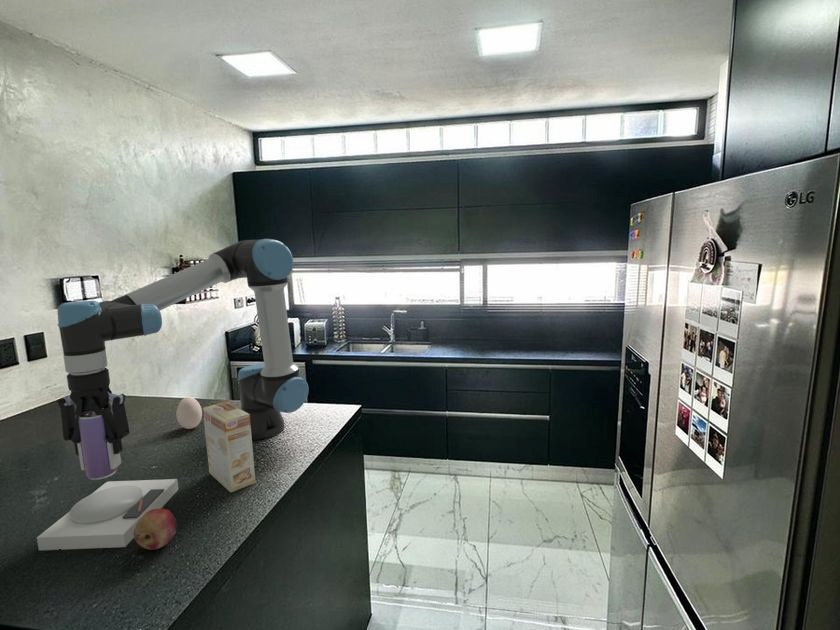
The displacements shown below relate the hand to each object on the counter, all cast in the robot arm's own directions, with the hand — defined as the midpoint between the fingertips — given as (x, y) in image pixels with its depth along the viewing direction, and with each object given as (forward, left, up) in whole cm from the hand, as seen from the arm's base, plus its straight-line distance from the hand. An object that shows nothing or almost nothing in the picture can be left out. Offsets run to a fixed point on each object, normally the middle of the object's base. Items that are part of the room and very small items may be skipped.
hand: (101, 466), depth 101 cm
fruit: (-18, +11, -13) cm, 25 cm away
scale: (-2, 0, -13) cm, 13 cm away
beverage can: (0, 0, -2) cm, 2 cm away
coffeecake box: (-23, -16, -13) cm, 31 cm away
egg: (+5, -51, -13) cm, 53 cm away
